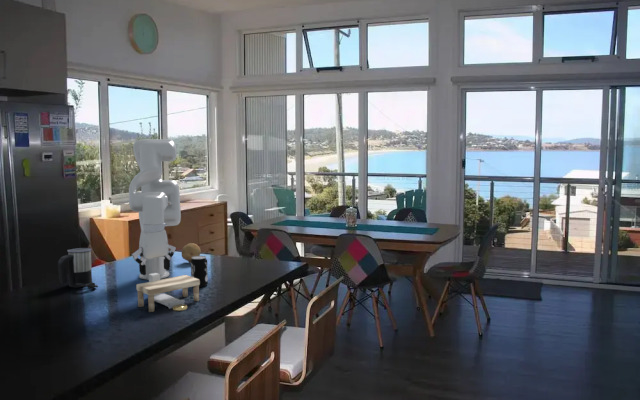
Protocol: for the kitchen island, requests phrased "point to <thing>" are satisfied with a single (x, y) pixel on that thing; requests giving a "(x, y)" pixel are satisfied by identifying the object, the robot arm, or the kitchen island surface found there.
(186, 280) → the low shelf
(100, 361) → the kitchen island surface
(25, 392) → the kitchen island surface
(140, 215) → the robot arm
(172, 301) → the white l-shaped block
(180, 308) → the gold metal disc
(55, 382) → the kitchen island surface
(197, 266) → the beverage can
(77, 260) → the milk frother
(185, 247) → the natural sponge
